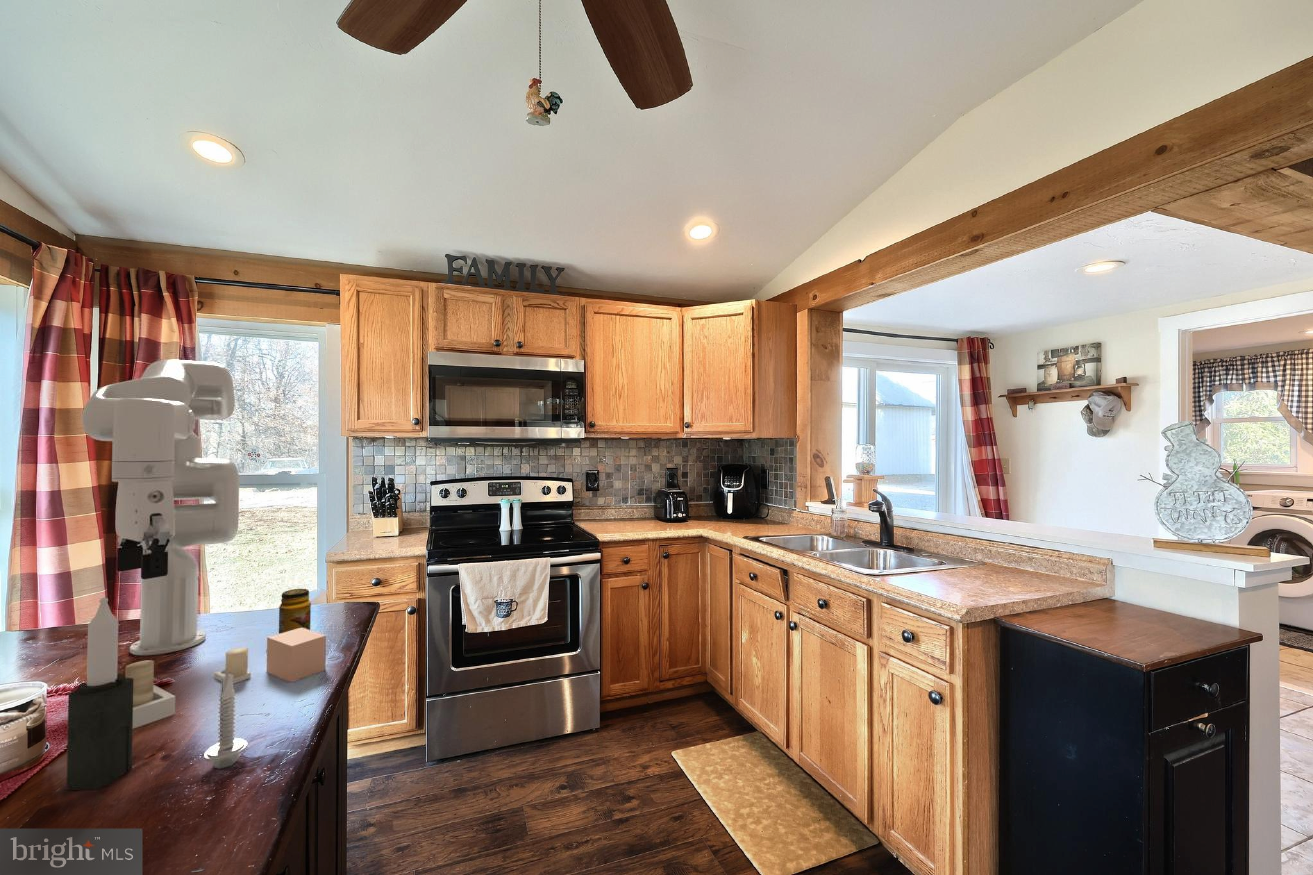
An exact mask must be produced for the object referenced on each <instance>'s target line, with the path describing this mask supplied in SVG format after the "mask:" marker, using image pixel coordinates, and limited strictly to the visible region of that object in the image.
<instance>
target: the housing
mask: <svg viewBox="0 0 1313 875" xmlns="http://www.w3.org/2000/svg"><path fill="white" fill-rule="evenodd" d="M266 639H267V640H266V650H267V652H266V673H268V674H271V675H272V676H275V677H278V678H279V679H282V680H285V681H287V682H290V683H293V682H296V681H298V680H301V679H305V678H306V677H309V676H313V675H315V674H318V673H320V672H323V671H326V662H327V661H326V660H327V658H326V657H327V656H326V655H327V654H326V653H327V650H326V649H327V635H326V634H324V633H320V632H317V631H314V630H311V629H310V630H308V629H305V628H298V629H295V630H291V631H288V632H284V633H281V634H279V633H278V634H275V635H271V636H267V637H266Z"/></svg>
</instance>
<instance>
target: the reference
mask: <svg viewBox="0 0 1313 875" xmlns="http://www.w3.org/2000/svg"><path fill="white" fill-rule="evenodd" d="M248 657H249V649H248V648H247V647H238V648H233V649H230V650H228V651H226V652H225V666H224V667H225V669H222V670H219V671H216V672H214V676H213V678H214V679H216V680H218V681H221V682H222V677H224V676H225V675H227V674H230V675H233V685H234V684H236V683H240V682H242V681H246V680H248V679H250V678H251V676H252V675H251V674H252V673H251V672H250V671H249V670H248V664H249V663H248V661H249V658H248Z"/></svg>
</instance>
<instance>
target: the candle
mask: <svg viewBox="0 0 1313 875" xmlns="http://www.w3.org/2000/svg"><path fill="white" fill-rule="evenodd" d="M108 601H109V599H108V598H107V597H101V598H100V599H99V603H100V604H99V607H97V608H98V609H97V611H96V614H95V615H94V617H93V618H92V619H91V620H90V622H89V623H88V624H87V646H86V647H87V649H86V650H87V652H86V660H87V661H86V682H81V683H80V684H78V685H77V689H74V690H72V691H70V692H69V693H68V695H67V696H68V697H67V698H68V700H67V701H68V705H67V745H66V746H67V750H66V753H67V754H66V790H67V791H89V790H90V791H91V790H93V789H94V790H98V789H99V790H100V789H102V788H105V787H107V786H109V785H111V784H112V782H114V781H115V780H117V779H118V778H120V777H121V776H122V775H124V774H126V773H127V772H130V771H131V770H132V768H133V682H134V679H133V678H126V676H125V674H123V673H118V665H119V664H118V659H119V658H118V657H119V656H118V655H119V619H118V618H117V617H116V616H115V615H114V614H113V613H112V610H111V609H110V606H109V604H108Z"/></svg>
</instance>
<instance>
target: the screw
mask: <svg viewBox="0 0 1313 875" xmlns="http://www.w3.org/2000/svg"><path fill="white" fill-rule="evenodd" d="M235 691H236V690H235V689H234V684H233V675H230V674H227V675H225V676H224V677H222V681H221V690H220V692H221V693H220V695H219V697H220V699H219V700H218V702H219V703H218V706H220V707H219V708H218V710H219V711H218V714H219V715H218V718H219V719H218V722H219V724H218V725H217V726H219V728H218V730H219V732H217V734H218V735H219V736H218V737H217V739H219V740H217V743H215V744H214V745H212V746H210V747H209V748H208V749H207V750H206V751H205V752H204V756H203V759H204V760H205V761H208V762H213V764H212V767H213V768H216V769H218V770H222V769H224V768H228V767H231V766H233V765H234V764H235V763H236V762H237V761H238V760H239V754H241V753H243V752H244V751H245V749H247V747H248V742H247V740H244V739H243V738H235V732H236V731H235V724H236V723H235V720H236V719H235V716H236V714H235V712H236V709H235V708H236V702H235V700H236V693H235Z"/></svg>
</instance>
